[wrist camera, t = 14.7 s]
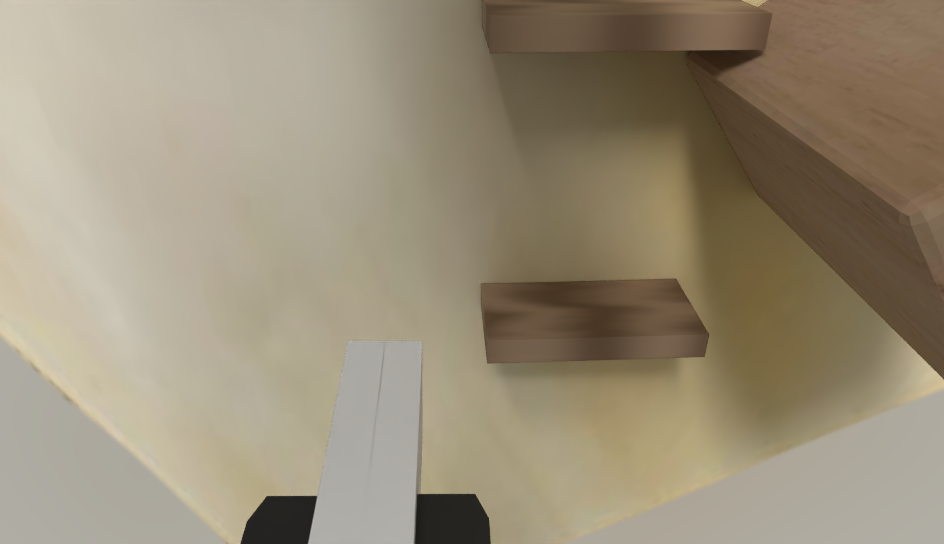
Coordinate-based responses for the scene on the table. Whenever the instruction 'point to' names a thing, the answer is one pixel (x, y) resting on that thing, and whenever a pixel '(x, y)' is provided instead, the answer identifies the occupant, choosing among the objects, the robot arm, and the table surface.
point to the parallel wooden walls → (622, 301)
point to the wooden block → (849, 144)
